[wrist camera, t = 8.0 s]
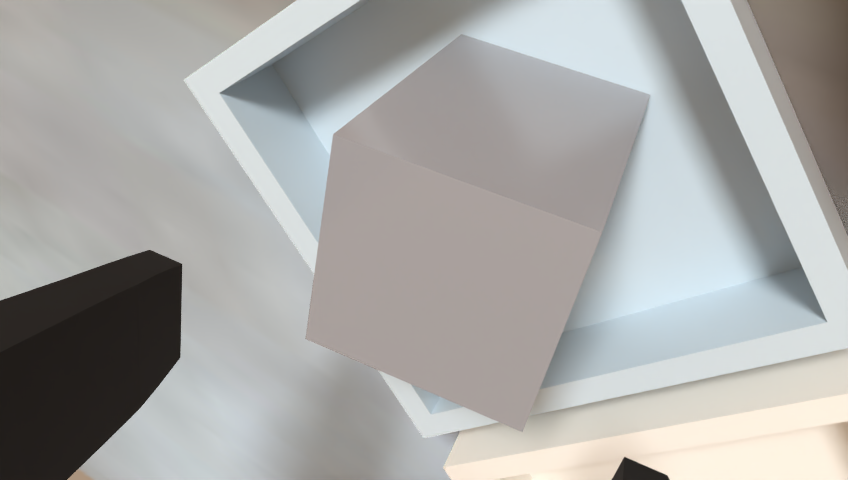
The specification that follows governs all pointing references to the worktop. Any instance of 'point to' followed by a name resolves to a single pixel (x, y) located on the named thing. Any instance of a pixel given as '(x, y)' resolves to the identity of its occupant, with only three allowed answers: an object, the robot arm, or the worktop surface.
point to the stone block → (469, 222)
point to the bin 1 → (636, 195)
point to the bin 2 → (682, 431)
